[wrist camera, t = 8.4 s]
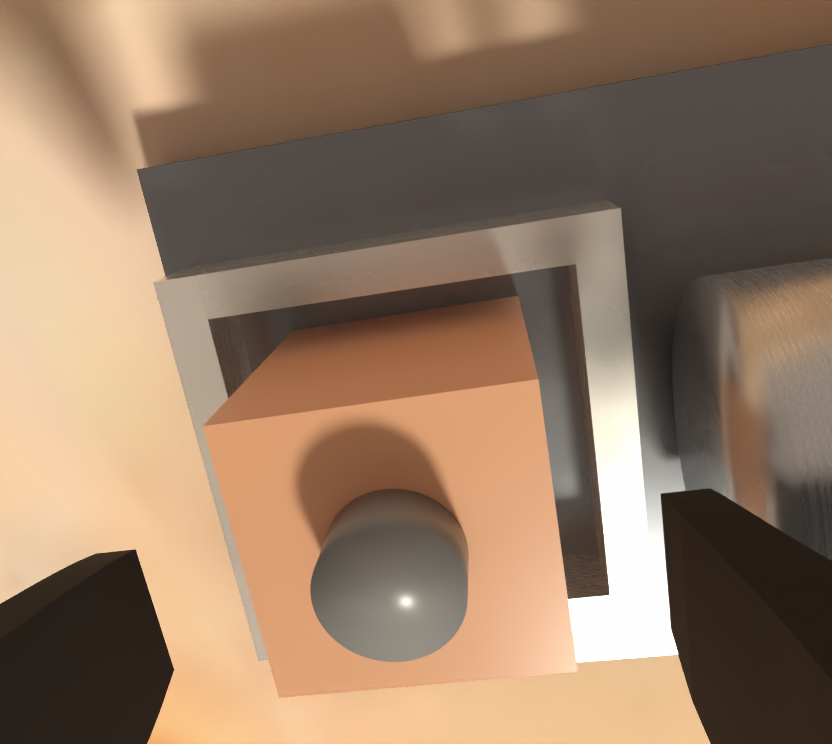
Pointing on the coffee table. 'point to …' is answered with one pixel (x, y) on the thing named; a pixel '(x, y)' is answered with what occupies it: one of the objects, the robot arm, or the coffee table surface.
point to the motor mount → (559, 293)
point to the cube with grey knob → (397, 503)
